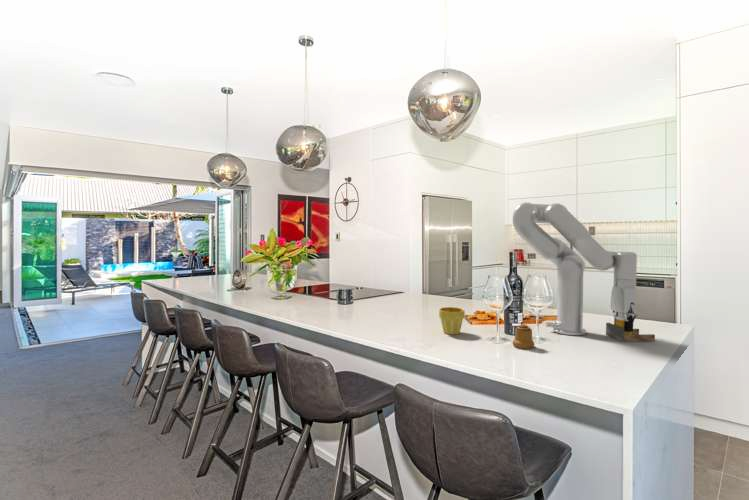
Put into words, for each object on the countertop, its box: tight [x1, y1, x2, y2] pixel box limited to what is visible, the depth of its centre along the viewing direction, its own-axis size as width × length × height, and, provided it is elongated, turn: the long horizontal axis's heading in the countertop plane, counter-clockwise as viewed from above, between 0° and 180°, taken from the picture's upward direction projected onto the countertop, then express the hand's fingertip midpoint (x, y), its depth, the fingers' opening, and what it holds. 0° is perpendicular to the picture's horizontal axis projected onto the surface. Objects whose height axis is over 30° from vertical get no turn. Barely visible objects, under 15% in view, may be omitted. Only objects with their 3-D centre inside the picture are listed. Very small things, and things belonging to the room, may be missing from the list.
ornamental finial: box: [512, 323, 535, 350], centre depth 150 cm, size 8×8×8 cm
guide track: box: [605, 322, 656, 343], centre depth 161 cm, size 13×10×5 cm
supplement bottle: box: [614, 312, 632, 335], centre depth 161 cm, size 6×6×10 cm
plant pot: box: [438, 306, 466, 336], centre depth 171 cm, size 10×10×10 cm
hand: (623, 329), depth 161 cm, fingers closed on supplement bottle, 5 cm apart
